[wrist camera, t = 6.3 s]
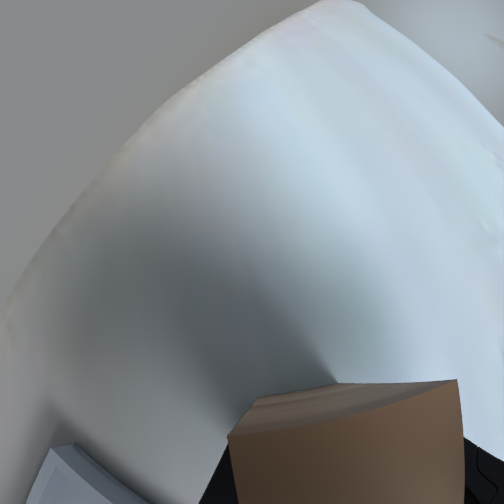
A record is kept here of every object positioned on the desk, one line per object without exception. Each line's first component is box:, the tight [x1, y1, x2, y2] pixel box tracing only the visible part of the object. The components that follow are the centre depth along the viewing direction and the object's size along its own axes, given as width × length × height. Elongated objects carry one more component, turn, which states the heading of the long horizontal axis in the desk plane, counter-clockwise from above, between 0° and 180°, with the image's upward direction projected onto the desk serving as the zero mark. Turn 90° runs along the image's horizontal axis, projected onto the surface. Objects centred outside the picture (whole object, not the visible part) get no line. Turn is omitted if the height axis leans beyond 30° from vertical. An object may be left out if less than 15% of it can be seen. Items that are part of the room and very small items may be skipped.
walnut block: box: [227, 379, 465, 504], centre depth 8 cm, size 4×4×11 cm
